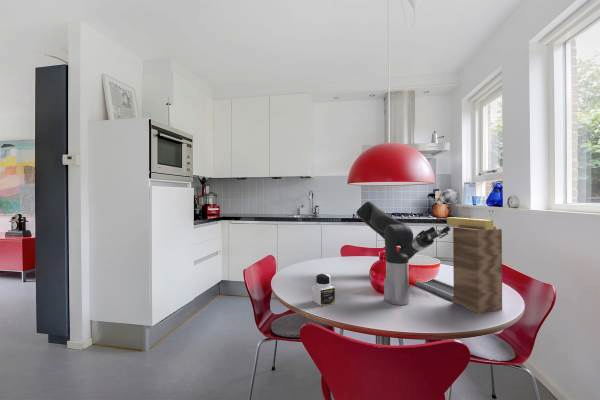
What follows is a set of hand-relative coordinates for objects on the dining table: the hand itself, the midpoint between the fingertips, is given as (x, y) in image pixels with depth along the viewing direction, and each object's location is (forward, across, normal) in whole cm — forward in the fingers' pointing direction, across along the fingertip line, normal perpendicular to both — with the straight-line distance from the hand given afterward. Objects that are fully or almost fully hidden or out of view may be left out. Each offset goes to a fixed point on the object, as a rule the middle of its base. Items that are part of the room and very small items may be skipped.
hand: (441, 228), depth 136 cm
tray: (-16, 0, +26) cm, 30 cm away
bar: (+14, 0, +6) cm, 15 cm away
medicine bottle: (-18, -59, +25) cm, 66 cm away
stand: (+1, 0, +36) cm, 36 cm away
